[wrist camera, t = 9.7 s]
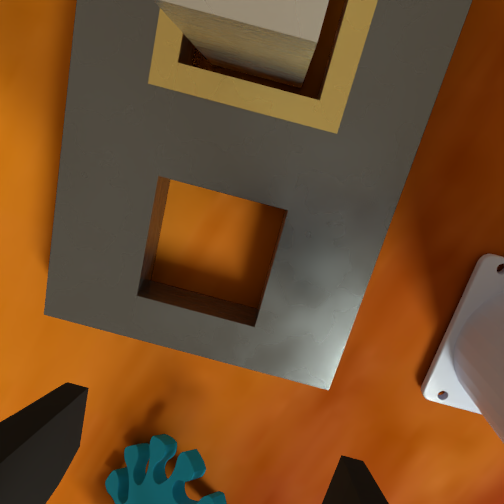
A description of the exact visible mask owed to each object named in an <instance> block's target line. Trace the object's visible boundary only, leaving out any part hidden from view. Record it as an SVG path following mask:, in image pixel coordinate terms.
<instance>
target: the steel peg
mask: <svg viewBox="0 0 504 504" xmlns="http://www.w3.org/2000/svg"><path fill="white" fill-rule="evenodd" d="M153 1H154V2H155V3H156V4H157V5H158V6H159V7H160V8H161V9H162V10H163V12H164V13H165V14H166V15H167V16H168V17H169V18H170V19H171V20H172V21H173V23H174V24H175V25H176V26H177V27H178V28H179V29H180V30H181V31H182V33H183V34H184V35H185V36H186V37H187V38H188V39H189V40H190V41H191V42H192V44H193V45H194V46H195V47H196V48H197V49H198V50H199V51H200V52H201V53H202V55H203V56H204V57H205V58H206V59H207V60H208V61H209V62H210V63H211V64H212V65H216V66H220V67H223V68H227V69H231V70H234V71H238V72H242V73H246V74H249V75H253V76H257V77H260V78H264V79H268V80H272V81H275V82H279V83H283V84H287V85H290V86H294V87H298V88H301V86H302V84H303V81H304V78H305V75H306V73H307V70H308V67H309V64H310V62H311V59H312V56H313V53H314V51H315V48H316V45H317V42H318V39H319V35H320V31H321V28H322V24H323V21H324V17H325V13H326V10H327V6H328V2H329V0H153Z"/></svg>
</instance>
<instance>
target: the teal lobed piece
mask: <svg viewBox="0 0 504 504" xmlns="http://www.w3.org/2000/svg"><path fill="white" fill-rule="evenodd" d="M176 450H177V442H176V441H175V440H174V439H173V438H172V437H171V436H169V435H166V434H161V435H156V436H152V438H151V440H150V444H148V443H141V444H136V445H131V446H128V447H126V448H125V451H124V458H125V462H126V465H127V467H125V468H121V469H116V470H114V471H112V472H111V473H110V475H109V476H108V478H107V480H106V481H105V485H106V489H107V492H108V493H109V494H110V495H111V497H112V498H113V500H114V502H115V504H226V499H225V495H224V493H223V492H220V491H218V492H215V493H212V494H209V495H207V496H204V497H203V498H202V499H201V500H200V501H195V500H191V499H189V498H188V497H187V495H186V493H185V482H187V481H190V480H193V479H197V478H200V477H202V476H203V475H204V473H205V470H206V467H205V463H204V461H203V459H202V457H201V455H200V454H199V452H198V451H197V449H194V450H190V451H185V452H182V453H181V454H180V455H179V456H178V458H177V462H176V466H175V469H174V471H173V473H172V475H171V476H170V477H169V478H167V477H166V474H165V465H166V462H167V461H168V460H169V459H171V458H172V457H173V456H174V455H175V453H176ZM149 457H150V459H149ZM148 460H149V466H148V471H147V473H145V469H146V465H147V462H148Z"/></svg>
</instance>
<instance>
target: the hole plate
mask: <svg viewBox="0 0 504 504" xmlns="http://www.w3.org/2000/svg"><path fill="white" fill-rule="evenodd" d="M471 3H472V0H345V2H344V5H343V9H342V12H341V16H340V19H339V23H338V26H337V30H336V33H335V37H334V40H333V44H332V47H331V51H330V55H329V58H328V62H327V65H326V69H325V72H324V76H323V79H322V83H321V86H320V90H319V93H318V97H317V99H313V98H309V97H305V96H302V95H298V94H294V93H290V92H287V91H283V90H279V89H275V88H271V87H268V86H264V85H260V84H256V83H253V82H249V81H245V80H241V79H238V78H234V77H230V76H226V75H223V74H219V73H215V72H211V71H208V70H204V69H200V68H196V67H193V66H192V62H193V57H194V51H195V46H194V45H193V44H192V42H191V41H190V40H189V39H188V38H187V37H186V36H185V35H184V34H183V33H182V31H181V30H180V29H179V28H178V27H177V26H176V25H175V24H174V23H173V21H172V20H171V19H170V18H169V17H168V16H167V15H166V14H165V13H164V12H163V10H162V9H161V8H160V7H159V6H158V5H157V4H156V3H155V2H154V1H153V0H77V4H76V13H75V23H74V32H73V42H72V51H71V61H70V70H69V80H68V89H67V99H66V109H65V118H64V128H63V137H62V147H61V156H60V166H59V175H58V185H57V194H56V204H55V213H54V223H53V233H52V242H51V252H50V261H49V271H48V280H47V290H46V299H45V309H44V315H48V316H52V317H55V318H59V319H63V320H67V321H70V322H74V323H78V324H82V325H85V326H89V327H93V328H97V329H100V330H104V331H108V332H112V333H115V334H119V335H123V336H127V337H130V338H134V339H138V340H142V341H146V342H149V343H153V344H157V345H161V346H164V347H168V348H172V349H176V350H179V351H183V352H187V353H191V354H194V355H198V356H202V357H206V358H209V359H213V360H217V361H221V362H224V363H228V364H232V365H236V366H239V367H243V368H247V369H251V370H255V371H258V372H262V373H266V374H270V375H273V376H277V377H281V378H285V379H288V380H292V381H296V382H300V383H303V384H307V385H311V386H315V387H318V388H322V389H326V390H329V388H330V385H331V383H332V380H333V377H334V375H335V372H336V369H337V366H338V364H339V361H340V358H341V356H342V353H343V350H344V347H345V345H346V342H347V339H348V337H349V334H350V331H351V328H352V326H353V323H354V320H355V318H356V315H357V312H358V309H359V307H360V304H361V301H362V299H363V296H364V293H365V290H366V288H367V285H368V282H369V280H370V277H371V274H372V271H373V269H374V266H375V263H376V261H377V258H378V255H379V252H380V250H381V247H382V244H383V241H384V239H385V236H386V233H387V231H388V228H389V225H390V222H391V220H392V217H393V214H394V212H395V209H396V206H397V203H398V201H399V198H400V195H401V193H402V190H403V187H404V184H405V182H406V179H407V176H408V174H409V171H410V168H411V165H412V163H413V160H414V157H415V155H416V152H417V149H418V146H419V144H420V141H421V138H422V136H423V133H424V130H425V127H426V125H427V122H428V119H429V117H430V114H431V111H432V108H433V106H434V103H435V100H436V98H437V95H438V92H439V89H440V87H441V84H442V81H443V79H444V76H445V73H446V70H447V68H448V65H449V62H450V60H451V57H452V54H453V51H454V49H455V46H456V43H457V41H458V38H459V35H460V32H461V30H462V27H463V24H464V22H465V19H466V16H467V13H468V11H469V8H470V5H471ZM170 179H172V180H176V181H180V182H184V183H187V184H191V185H195V186H199V187H202V188H206V189H210V190H214V191H217V192H221V193H225V194H229V195H233V196H236V197H240V198H244V199H248V200H251V201H255V202H259V203H263V204H266V205H270V206H274V207H278V208H281V209H285V213H284V217H283V220H282V224H281V227H280V231H279V235H278V238H277V242H276V245H275V249H274V252H273V256H272V259H271V263H270V266H269V270H268V273H267V277H266V280H265V284H264V287H263V291H262V295H261V298H260V302H259V305H258V309H256V308H252V307H248V306H244V305H241V304H237V303H233V302H229V301H225V300H222V299H218V298H214V297H210V296H207V295H203V294H199V293H195V292H192V291H188V290H184V289H180V288H177V287H173V286H169V285H165V284H162V283H158V282H154V281H151V278H152V273H153V268H154V262H155V257H156V252H157V246H158V241H159V236H160V231H161V225H162V220H163V215H164V210H165V204H166V199H167V194H168V188H169V183H170Z"/></svg>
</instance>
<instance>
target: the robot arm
mask: <svg viewBox="0 0 504 504" xmlns="http://www.w3.org/2000/svg"><path fill="white" fill-rule="evenodd" d="M500 264H504V257H502V256H499V255H495V254H485V255H483V256H482V257H480V259H479V260H478V262H477V264H476V266H475V268H474V270H473V273H472V275H471V277H470V279H469V282H468V284H467V286H466V288H465V290H464V293H463V295H462V297H461V299H460V302H459V304H458V306H457V308H456V310H455V313H454V315H453V317H452V319H451V322H450V324H449V326H448V328H447V330H446V333H445V335H444V337H443V339H442V342H441V344H440V346H439V348H438V350H437V353H436V355H435V357H434V359H433V362H432V364H431V366H430V368H429V370H428V373H427V375H426V377H425V379H424V382H423V384H422V386H421V392H422V394H423V396H424V397H425V398H426V399H428V400H430V401H434V402H438V403H441V404H445V405H449V406H453V407H456V408H460V409H464V410H468V411H471V412H475V413H479V414H482V415H483V416H484V417H485V419H486V420H487V421H488V423H489V424H490V425H491V427H492V428H493V429H494V431H495V432H496V434H497V435H498V436H499V438H500V439H501V440H502V442H503V443H504V268H503V269H502V270H501V271H499V272H497V267H498V266H499V265H500ZM441 391H445V392H444V393H443V394H442V395H438V393H439V392H441ZM87 394H88V388H87V387H83V386H79V385H75V384H72V383H68V382H67V383H65V384H63V385H61V386H60V387H58V388H56V389H55V390H53V391H51V392H50V393H48V394H47V395H45V396H43V397H42V398H40V399H38V400H37V401H35V402H33V403H32V404H30V405H29V406H27V407H25V408H24V409H22V410H20V411H19V412H17V413H15V414H14V415H12V416H10V417H8V418H7V419H5V420H3V421H1V422H0V504H46V502H47V501H48V499H49V498H50V496H51V495H52V493H53V492H54V491H55V489H56V488H57V486H58V485H59V483H60V481H61V479H62V478H63V476H64V474H65V472H66V471H67V469H68V467H69V465H70V463H71V461H72V460H73V458H74V456H75V454H76V452H77V450H78V448H79V447H80V440H81V434H82V427H83V421H84V414H85V407H86V401H87ZM322 504H389V503H388V502H387V500H386V498H385V497H384V495H383V493H382V492H381V490H380V488H379V487H378V485H377V483H376V482H375V480H374V478H373V477H372V475H371V473H370V472H369V470H368V468H367V467H366V465H365V463H364V462H363V461H361V460H357V459H353V458H350V457H346V456H342V455H341V458H340V460H339V463H338V465H337V468H336V470H335V473H334V475H333V478H332V480H331V483H330V485H329V488H328V490H327V493H326V495H325V498H324V500H323V503H322Z"/></svg>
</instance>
